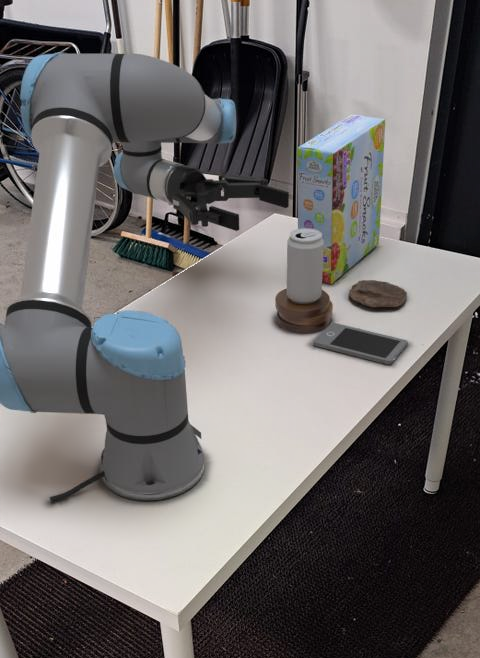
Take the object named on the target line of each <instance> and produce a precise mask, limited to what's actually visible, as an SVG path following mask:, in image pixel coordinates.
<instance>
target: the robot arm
mask: <svg viewBox="0 0 480 658" xmlns="http://www.w3.org/2000/svg"><path fill="white" fill-rule="evenodd" d="M19 98H20V101H21V105H20V116H21V117H20V118H21V120H22V125H23V129H24V130H25V133H26V134H27V136H28V137H29V138H30V140H31V143H32V145H33V147H34V148H35V150H36V151H37V152H38V153H39V155H38V162H37V171H36V176H35V185H34V191H33V192H34V193H33V200H32V207H31V213H30V220H29V228H28V236H27V244H26V250H25V257H24V259H25V260H24V264H23V265H24V266H23V274H22V281H21V288H20V294H19V298H17V299H15V300H14V301H12V302H10V303H9V304H8V306H7V308H6V314H5V320H4V323H1V322H0V405H1V406H3V407H5V408H6V409H8V410H11V411H21V412H29V413H31V414H36V413H60V414H61V413H62V414H81V415H84V414H85V415H89V414H90V415H103V416H104V418H105V419H104V420H105V424H106V433H105V437H104V446H103V449H102V451H101V454H100V463H99V467H100V468H99V469H100V472H98V473H97V474H94V475H93V476H91V477H89V478H87V479H86V480H84V481H82V482H81V483H79V484H77V485H76V486H74V487H72V488H71V489H69V490H67V491H64V492H62V493H60V494H56V495H52V496H49V501H50V503H54V502H57V501H61V500H64V499H66V498H69V497H71V496H73V495H74V494H76V493H78V492H79V491H81V490H83V489H84V488H87V487H88V486H90V485H91V484H94V483H95V482H97V481H99V480H100V479H102V481H103V484H105V486H106V487H107V488H108V489H109V490H110V491H112V492H113V493H115V494H117V495H118V496H120V497H123V498H126V499H131V500H136V501H159V500H165V499H169V498H174V497H176V496H179V495H180V494H183V493H185V492H186V491H188V490H190V489H191V488H192V487H194V486H195V485H196V484H197V483H198V482H199V481H200V479H201V478H202V476H203V474H204V472H205V455H204V452H203V448H202V445H201V443H200V441H199V439H200V440H202V432H201V431H200V430H199V429H197V428H196V427H195V426H194V425H193V424H191V423H190V422H191V421H189V410H188V394H187V382H186V358H185V355H184V351H183V342H182V339H181V334H180V333H179V331H178V330H177V328H176V327H175V326H174V325H172V324H171V323H170V322H169V321H168V320H166V319H165V318H163V317H162V316H159V315H156V314H154V313H150V312H146V311H139V310H119V311H117V312H116V313H113V312H109V313H107V314H104V315H102V316H100V317H98V319H97V320H95V322H94V323H93V325H92V319H91V317H90V316H89V315H88V314H87V313H86V312H85V310H84V309H83V306H84V298H85V290H86V281H87V273H88V265H89V256H90V247H91V241H92V232H93V231H92V230H93V224H94V214H95V204H96V197H97V190H98V179H99V171H100V167H102V166H103V165H105V164H107V163H108V162H109V160H110V159H111V157H112V151H113V143H119V144H120V143H121V144H122V151H121V152H120V153H118V155H117V156H116V157H115V160H114V167H113V170H112V173H113V177H114V180H115V182H116V183H117V185H119V187H121V188H122V189H125V190H127V191H129V192H130V193H132V194H134V195H139V196H144V197H147V198H151V199H154V200H156V201H159V202H162V203H166V204H167V205H168V206H173V207H172V208H173V209H174V210H177V211H179V212H180V214H182V215H183V217H185V219H186V220H187V221H189V223H190V224H191V225H193V226H196V225H199V222H201V227H202V228H206V227H208V226H209V223H210V224H213V225H217V226H220V227H223V228H226V229H229V230H232V231H235V232H238V231H240V214H239V213H236V212H233V211H230V210H226V209H223V208H220V207H217V206H214V205H211V204H212V203H215V202H227V201H228V200H229V199H258V200H259V201H261V202H264V203H267V204H271V205H274V206H277V207H280V208H284V209H287V208H289V203H290V198H289V197H290V192H289V191H286V190H283V189H280V188H276V187H273V186H269V179H266V178H261V177H260V178H252V177H241V176H240V177H238V176H228V175H223V174H219V175H218V180H214V179H212V178H208V179H207V178H206V175H204V173H203V172H202V171H201V170H200V169H198V168H195V167H192V166H189V165H186V164H185V165H184V164H182V163H179V162H176V161H173V160H169V159H165V158H163V156H162V153H163V152H162V150H163V148H162V144H164V143H165V144H166V143H167V144H182V143H184V144H216V145H221V144H230V143H232V142H234V140H235V138H236V133H237V109H236V104H235V102H234V101H233V100H232V99H229V98H227V99H226V98H221V97H218V98H211V97H209V96H208V95H207V94H205V91H204V90H203V87H202V85H201V84H200V82H199V80H197V78H196V77H195V76H193V75H192V74H191V73H189V72H188V71H187V70H185V69H184V68H182V67H180V66H178V65H176V64H173V63H171V62H169V61H166V60H163V59H160V58H157V57H155V56H151V55H146V54H141V53H133V52H130V53H129V52H127V53H67V52H63V51H58V52H55V53H46V54H40V55H37V56H35V57H34V58H33V59H32V60H31V61H30V62H29V63H28V65H27V66H26V67H25V71H24V73H23V76H22V80H21V86H20V95H19ZM222 192H223V195H222ZM208 205H210V206H209V207H208ZM198 438H199V439H198Z"/></svg>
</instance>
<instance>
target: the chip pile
mask: <svg viewBox="0 0 480 658" xmlns="http://www.w3.org/2000/svg"><path fill="white" fill-rule="evenodd" d="M274 300H275V301H274V306H275V309H276V323H277V325H278V327H280V328H282V330H285V331H287V332H290V333H296V334H311V333H313V334H314V333H318V332H321V331H324V330H325V329H326V328H327V327H328V326H329V325H330V324H331V318H332V316H333V312H334V310H333V309H334V305H333V302H332V301H331V298H330V295H329V294H328V293H327V292H326V291H325V290H323V289H322V294H321V297H320V298H319V299H317V300H316V301H315V302H313V303H309V304H298V303H295V302H293V301H291V299H289V298H288V297H287V287H286V288H284V289H282V290H280V291H278V292H277V294H276V295H275V298H274Z"/></svg>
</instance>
